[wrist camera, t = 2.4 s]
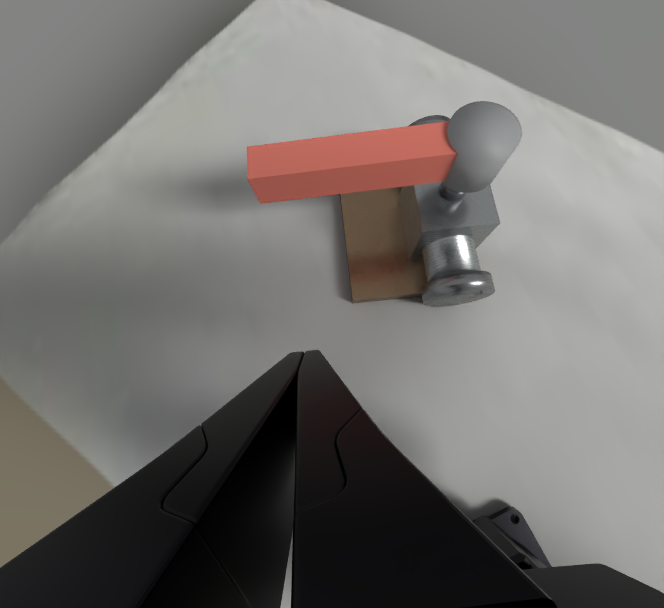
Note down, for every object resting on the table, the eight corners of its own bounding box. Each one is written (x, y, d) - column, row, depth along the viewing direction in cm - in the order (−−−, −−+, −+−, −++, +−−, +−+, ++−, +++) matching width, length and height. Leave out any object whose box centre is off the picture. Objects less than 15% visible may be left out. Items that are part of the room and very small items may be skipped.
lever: (503, 188, 15) (529, 154, 13) (261, 217, 16) (246, 189, 14) (488, 137, 16) (512, 97, 14) (259, 166, 17) (245, 131, 14)
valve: (481, 303, 21) (539, 269, 15) (354, 316, 21) (355, 289, 15) (449, 159, 24) (484, 79, 18) (337, 173, 24) (332, 99, 18)
